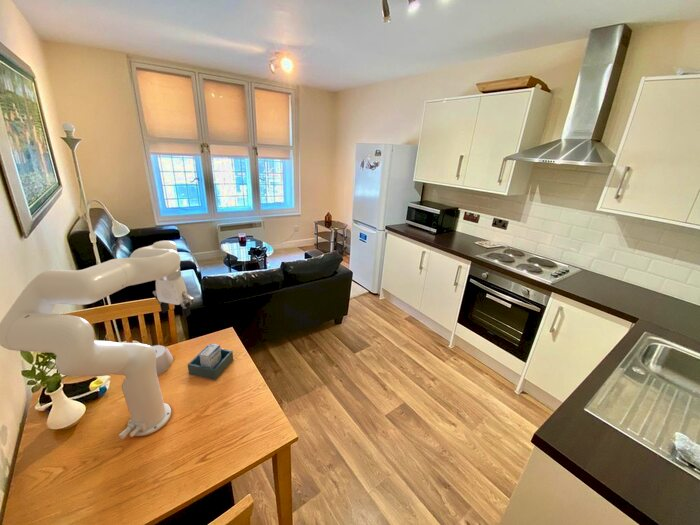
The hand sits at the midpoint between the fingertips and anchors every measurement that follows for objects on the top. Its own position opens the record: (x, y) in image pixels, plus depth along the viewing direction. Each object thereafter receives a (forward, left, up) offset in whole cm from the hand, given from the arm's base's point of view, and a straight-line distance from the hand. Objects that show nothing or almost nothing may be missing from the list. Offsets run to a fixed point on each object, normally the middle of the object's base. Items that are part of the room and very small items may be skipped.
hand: (176, 313), depth 112 cm
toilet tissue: (-2, +12, -28) cm, 30 cm away
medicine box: (+4, -9, -28) cm, 29 cm away
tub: (+4, -9, -28) cm, 30 cm away
